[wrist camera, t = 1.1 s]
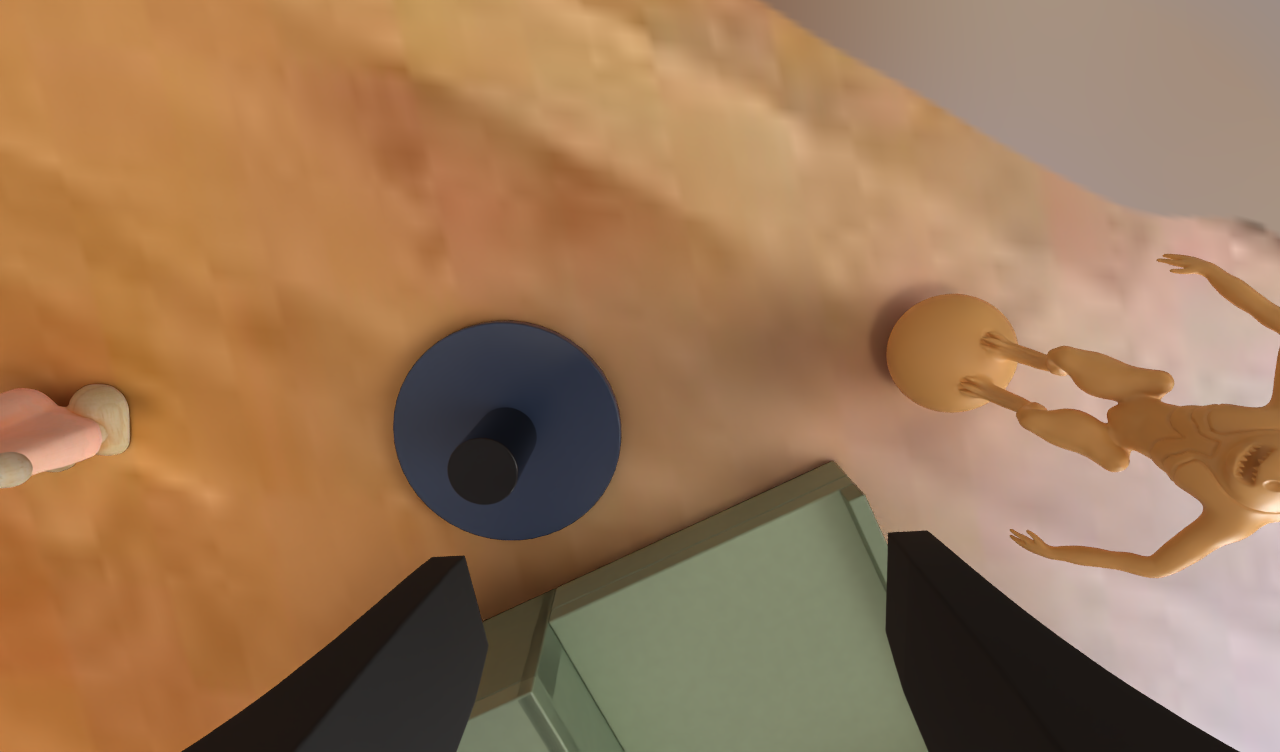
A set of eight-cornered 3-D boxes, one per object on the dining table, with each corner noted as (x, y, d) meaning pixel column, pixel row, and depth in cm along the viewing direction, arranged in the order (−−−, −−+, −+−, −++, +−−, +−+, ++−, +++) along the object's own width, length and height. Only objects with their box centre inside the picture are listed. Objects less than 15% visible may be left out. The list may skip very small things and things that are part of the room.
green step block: (583, 854, 28) (569, 1018, 22) (446, 637, 26) (390, 754, 20) (945, 704, 26) (1033, 836, 21) (833, 459, 24) (896, 529, 18)
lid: (468, 568, 25) (433, 635, 21) (356, 382, 23) (293, 413, 19) (659, 478, 24) (663, 528, 20) (556, 280, 23) (537, 289, 18)
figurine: (925, 215, 22) (1247, 184, 11) (1075, 277, 23) (1542, 314, 11) (827, 426, 24) (1012, 604, 12) (968, 480, 24) (1279, 702, 13)
